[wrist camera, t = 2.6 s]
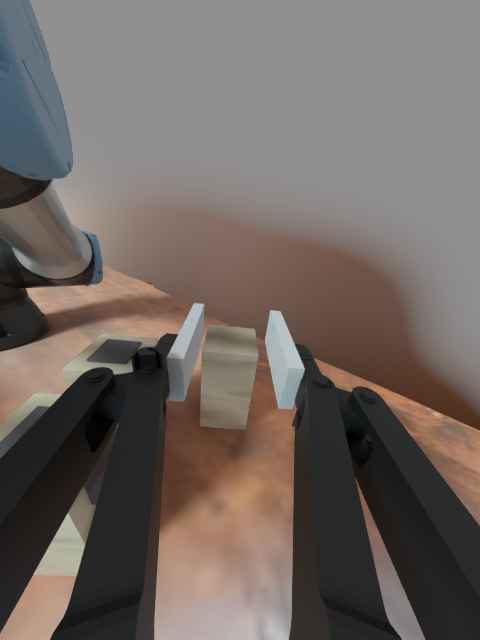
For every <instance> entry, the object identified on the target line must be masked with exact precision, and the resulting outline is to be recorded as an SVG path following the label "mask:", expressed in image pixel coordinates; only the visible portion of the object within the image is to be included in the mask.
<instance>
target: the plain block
mask: <svg viewBox="0 0 480 640" xmlns="http://www.w3.org/2000/svg"><path fill="white" fill-rule="evenodd" d="M257 362H258V349H257V342H256V334H255V329H252V328H241V327H230V326H219V325H209V327H208V331H207V335H206V339H205V342H204V346H203V350H202V370H201V403H200V427H210V428H225V429H240V430H245V429H246V423H247V418H248V412H249V407H250V401H251V395H252V390H253V384H254V379H255V373H256V367H257Z"/></svg>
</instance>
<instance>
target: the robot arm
mask: <svg viewBox="0 0 480 640" xmlns="http://www.w3.org/2000/svg"><path fill="white" fill-rule="evenodd" d="M72 166H73V154H72V144H71V139H70V133H69V129H68V124H67V119H66V114H65V111H64V107H63V103H62V99H61V95H60V92H59V89H58V86H57V83H56V80H55V77H54V74H53V72H52V70H51V65H50V60H49V55H48V52H47V49H46V46H45V42H44V40H43V37H42V34H41V31H40V28H39V25H38V23H37V20H36V17H35V14H34V12H33V9H32V6H31V4H30V1H29V0H0V351H1V350H5V349H10V348H13V347H17V346H20V345H23V344H25V343H28V342H30V341H33V340H35V339H37V338H39V337H40V336H42V335H43V334H45V333H46V332H47V331H48V329H49V322H48V320H47V317H46V316H45V314H44V313H42V312H41V311H40V309H39V308H38V307H37V305H36V304H35V303H34V302H33V301H32V300H31V299H30V297H29V296H28V293H27V290H26V288H36V287H57V286H77V285H85V286H89V285H92V284H98V283H100V282H101V281H102V279H103V271H102V259H101V252H100V247H99V242H98V240H97V237H96V236H95V234H93V233H88V232H86V231H80V230H79V229H78V228H77V227H75V226H74V225H72V224H71V222H70V220H69V218H68V216H67V214H66V212H65V210H64V208H63V206H62V204H61V201H60V199H59V197H58V195H57V193H56V191H55V189H54V187H53V185H52V181H53V180H54V178H56V179H59V178H64V177H66V176H67V175H68V173H69V172H71V168H72ZM203 335H204V304H197V303H194V304H193V306H192V308H191V310H190V312H189V314H188V316H187V318H186V320H185V322H184V324H183V326H182V328H181V330H180V332H179V334H168V333H167V334H165V335H164V336H162V337H161V338H160V340H159V341H158V344H156V346H155V347H143V348H140V349H137V350H136V351H135V352H133V353H132V355H131V360H132V366H133V371H132V372H128V373H122V374H115V375H114V373H113V370H112V369H110V368H107V367H97V368H93V369H90V370H88V371H86V372H84V373H83V374H82V375H80V376H79V377H78V378H77V380H76V381H75V382H74V383H73V384H72V385H71V386H70V387H69V388H68V389H67V390H66V391H65V392H64V393H63V394H62V395H61V396H60V397H59V398H58V399H57V400H56V401H55V402H54V403H53V404H52V405H51V406H50V408H49V409H48V410H47V411H46V412H45V413H44V414H43V415H42V416H41V417H40V418H39V419H38V420H37V421H36V422H35V423H34V424H33V425H32V426H31V427H30V428H29V429H28V430H27V431H26V432H25V433H24V434H23V436H22V437H21V438H20V439H19V440H18V441H17V442H16V443H15V444H14V445H13V446H12V447H11V448H10V449H9V450H8V451H7V452H6V453H5V454H4V455H3V456H2V457H1V458H0V633H1V631H2V629H3V627H4V626H5V624H6V622H7V620H8V618H9V617H10V615H11V613H12V611H13V610H14V608H15V606H16V604H17V603H18V601H19V599H20V597H21V595H22V594H23V592H24V590H25V588H26V587H27V585H28V583H29V581H30V579H31V578H32V576H33V574H34V572H35V571H36V569H37V567H38V565H39V563H40V562H41V560H42V558H43V556H44V555H45V553H46V551H47V549H48V548H49V546H50V544H51V542H52V540H53V539H54V537H55V535H56V533H57V532H58V530H59V528H60V526H61V524H62V523H63V521H64V519H65V517H66V516H67V514H68V512H69V510H70V508H71V507H72V505H73V503H74V501H75V500H76V498H77V496H78V494H79V492H80V491H81V489H82V487H83V485H84V484H85V482H86V480H87V478H88V477H89V475H90V473H91V471H92V469H93V468H94V466H95V464H96V462H97V461H98V459H99V457H100V455H101V453H102V452H103V450H104V448H105V446H106V445H107V443H108V441H109V439H110V437H111V436H112V434H113V432H114V430H115V429H116V427H117V425H118V427H117V431H116V435H115V438H114V442H113V446H112V449H111V453H110V457H109V460H108V464H107V467H106V471H105V475H104V478H103V482H102V486H101V489H100V493H99V497H98V500H97V504H96V508H95V511H94V515H93V518H92V522H91V526H90V529H89V533H88V537H87V540H86V544H85V548H84V551H83V555H82V558H81V562H80V566H79V569H78V573H77V577H76V580H75V584H74V588H73V591H72V595H71V598H70V602H69V605H68V608H67V610H66V613H65V615H64V617H63V619H62V620H61V622H60V623H59V625H58V626H57V628H56V629H55V631H54V632H53V634H52V637H51V639H50V640H154V614H155V596H156V579H157V562H158V545H159V527H160V510H161V493H162V476H163V459H164V442H165V425H166V408H167V407H166V400H167V397H168V395H169V401H180V402H184V401H185V398H186V394H187V391H188V387H189V384H190V380H191V377H192V373H193V370H194V367H195V363H196V360H197V356H198V353H199V349H200V346H201V343H202V339H203ZM265 345H266V350H267V355H268V360H269V365H270V370H271V375H272V380H273V385H274V390H275V395H276V400H277V405H278V409H291V410H292V409H293V406H294V403H295V404H296V407H297V411H296V414H295V417H294V420H293V424H292V426H293V427H294V425H295V449H294V513H293V576H292V621H291V630H290V636H289V640H402V639H401V637H400V636H399V635H398V633H397V632H396V631H395V629H394V628H393V627H392V626H391V624H390V622H389V620H388V618H387V615H386V612H385V608H384V604H383V600H382V595H381V591H380V586H379V582H378V577H377V573H376V568H375V564H374V560H373V555H372V551H371V546H370V542H369V537H368V533H367V528H366V524H365V519H364V515H363V510H362V506H361V501H360V497H359V492H358V488H357V483H356V480H357V482H358V484H359V487H360V489H361V491H362V494H363V496H364V498H365V501H366V503H367V505H368V507H369V510H370V512H371V514H372V517H373V519H374V521H375V524H376V526H377V528H378V531H379V533H380V535H381V537H382V540H383V542H384V544H385V547H386V549H387V551H388V554H389V556H390V558H391V561H392V563H393V565H394V567H395V570H396V572H397V574H398V577H399V579H400V581H401V584H402V586H403V588H404V591H405V593H406V595H407V597H408V600H409V602H410V604H411V607H412V609H413V611H414V614H415V616H416V618H417V621H418V623H419V625H420V627H421V630H422V632H423V634H424V637H425V639H426V640H480V526H479V525H478V523H477V522H476V521H475V519H474V518H473V517H472V515H471V514H470V513H469V512H468V510H467V509H466V508H465V506H464V505H463V504H462V502H461V501H460V500H459V498H458V497H457V496H456V495H455V493H454V492H453V491H452V489H451V488H450V487H449V485H448V484H447V483H446V481H445V480H444V479H443V477H442V476H441V475H440V474H439V472H438V471H437V470H436V468H435V467H434V466H433V464H432V463H431V462H430V460H429V459H428V458H427V457H426V455H425V454H424V453H423V451H422V450H421V449H420V447H419V446H418V445H417V443H416V442H415V441H414V439H413V438H412V437H411V436H410V434H409V433H408V432H407V430H406V429H405V428H404V426H403V425H402V424H401V422H400V421H399V420H398V419H397V417H396V416H395V415H394V413H393V412H392V411H391V409H390V408H389V407H388V405H387V404H386V403H385V401H384V400H383V399H382V398H381V397H380V396H379V395H378V394H377V393H376V392H374V391H373V390H371V389H368V388H366V387H361V386H360V387H355V388H353V390H352V393H351V392H348V391H345V390H342V389H339V388H336V387H335V385H334V383H333V382H332V381H331V380H330V379H329V378H327V377H326V376H324V375H322V374H321V372H320V370H319V368H318V366H317V364H316V362H315V361H314V358H313V356H312V355H311V352H310V351H309V349H308V348H306V347H305V346H304V345H299V344H294V342H293V340H292V337H291V335H290V333H289V330H288V328H287V326H286V323H285V321H284V318H283V316H282V314H281V312H280V311H270V316H269V321H268V327H267V332H266V337H265ZM118 423H119V424H118ZM355 477H356V479H355Z"/></svg>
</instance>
